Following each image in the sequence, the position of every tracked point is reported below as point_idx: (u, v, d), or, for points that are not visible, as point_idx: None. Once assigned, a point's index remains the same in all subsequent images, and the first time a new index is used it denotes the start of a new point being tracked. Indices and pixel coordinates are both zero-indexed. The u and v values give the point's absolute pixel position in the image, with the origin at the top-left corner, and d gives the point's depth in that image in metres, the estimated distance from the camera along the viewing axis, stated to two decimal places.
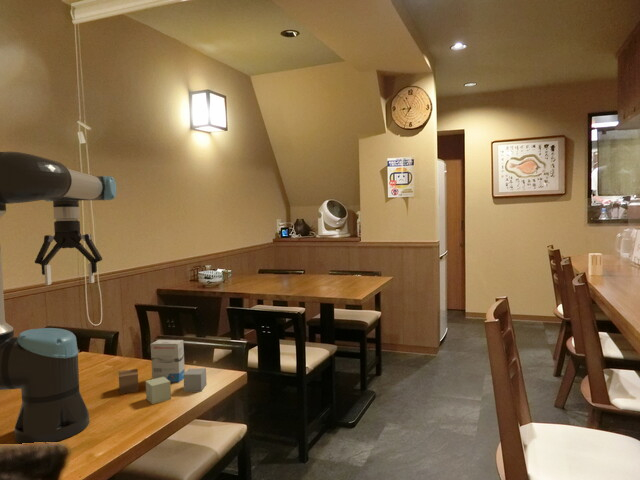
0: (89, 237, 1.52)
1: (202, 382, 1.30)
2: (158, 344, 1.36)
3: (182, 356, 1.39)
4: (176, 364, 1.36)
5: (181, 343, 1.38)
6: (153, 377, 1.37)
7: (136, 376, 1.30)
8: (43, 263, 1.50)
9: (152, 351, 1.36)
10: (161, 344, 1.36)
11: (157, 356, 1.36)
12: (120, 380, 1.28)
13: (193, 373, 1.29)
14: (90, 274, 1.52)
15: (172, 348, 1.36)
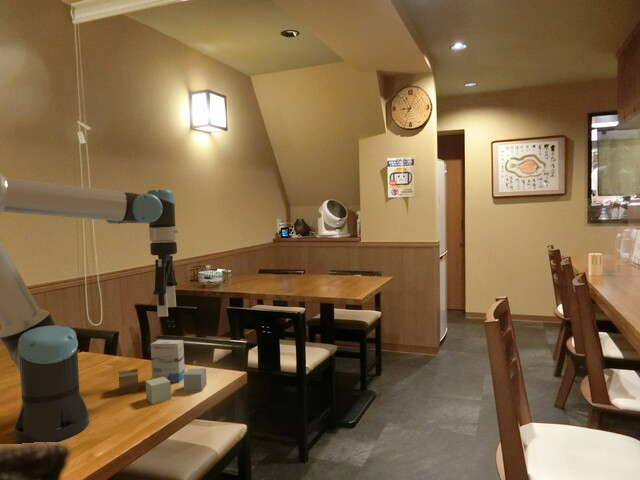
0: (158, 263, 1.30)
1: (202, 382, 1.30)
2: (158, 344, 1.36)
3: (182, 356, 1.39)
4: (176, 364, 1.36)
5: (181, 343, 1.38)
6: (153, 377, 1.37)
7: (136, 376, 1.30)
8: (166, 284, 1.45)
9: (152, 351, 1.36)
10: (161, 344, 1.36)
11: (157, 356, 1.36)
12: (120, 380, 1.28)
13: (193, 373, 1.29)
14: (157, 306, 1.31)
15: (172, 348, 1.36)
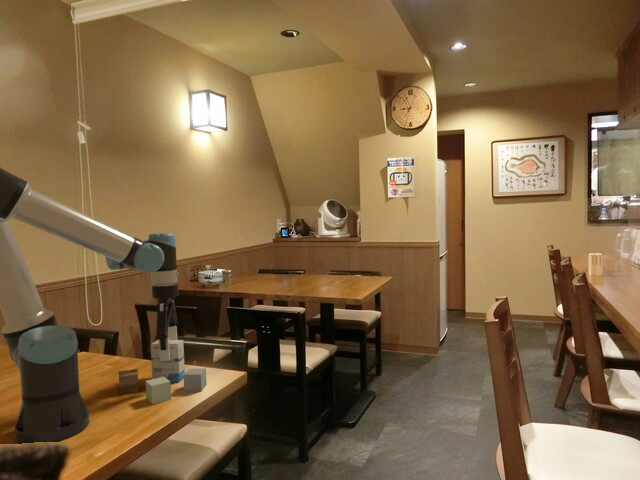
0: (160, 308, 1.31)
1: (202, 382, 1.30)
2: (158, 344, 1.36)
3: (182, 356, 1.39)
4: (176, 364, 1.36)
5: (181, 343, 1.38)
6: (153, 377, 1.37)
7: (136, 376, 1.30)
8: None
9: (152, 351, 1.36)
10: None
11: (157, 356, 1.36)
12: (120, 380, 1.28)
13: (193, 373, 1.29)
14: (159, 350, 1.31)
15: (172, 348, 1.36)
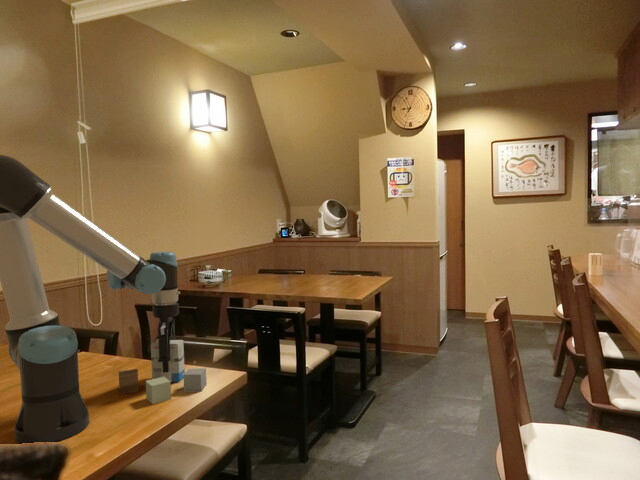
0: (161, 332, 1.32)
1: (202, 382, 1.30)
2: (158, 344, 1.36)
3: (182, 356, 1.39)
4: (176, 363, 1.36)
5: (181, 343, 1.38)
6: (153, 377, 1.37)
7: (136, 376, 1.30)
8: None
9: (152, 351, 1.36)
10: None
11: (157, 356, 1.36)
12: (120, 380, 1.28)
13: (193, 373, 1.29)
14: (161, 372, 1.35)
15: (172, 348, 1.36)
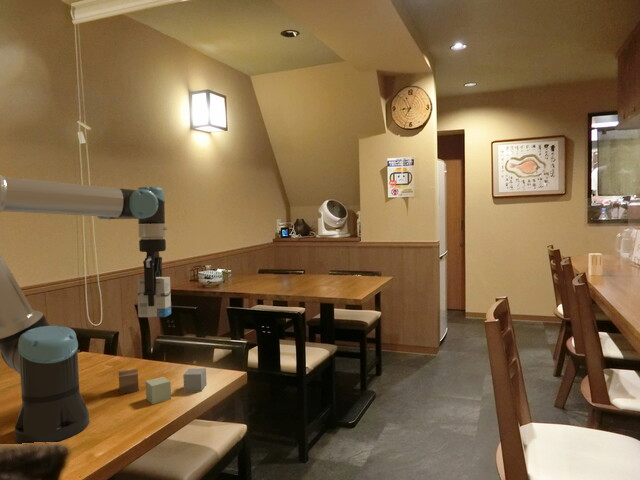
0: (146, 265, 1.32)
1: (202, 382, 1.30)
2: None
3: (168, 292, 1.39)
4: (162, 298, 1.36)
5: (168, 279, 1.38)
6: (139, 312, 1.37)
7: (136, 376, 1.30)
8: None
9: (138, 286, 1.36)
10: None
11: (143, 291, 1.36)
12: (120, 380, 1.28)
13: (193, 373, 1.29)
14: (147, 307, 1.35)
15: (158, 283, 1.36)
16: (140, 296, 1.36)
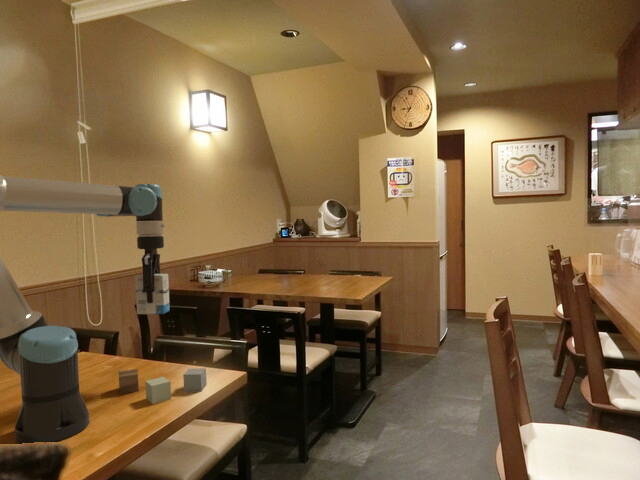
0: (145, 262, 1.32)
1: (202, 382, 1.30)
2: None
3: (167, 289, 1.39)
4: (160, 295, 1.36)
5: (166, 276, 1.39)
6: (138, 309, 1.37)
7: (136, 376, 1.30)
8: None
9: (137, 283, 1.37)
10: None
11: (141, 288, 1.36)
12: (120, 380, 1.28)
13: (193, 373, 1.29)
14: (146, 304, 1.35)
15: (156, 280, 1.36)
16: (138, 293, 1.37)
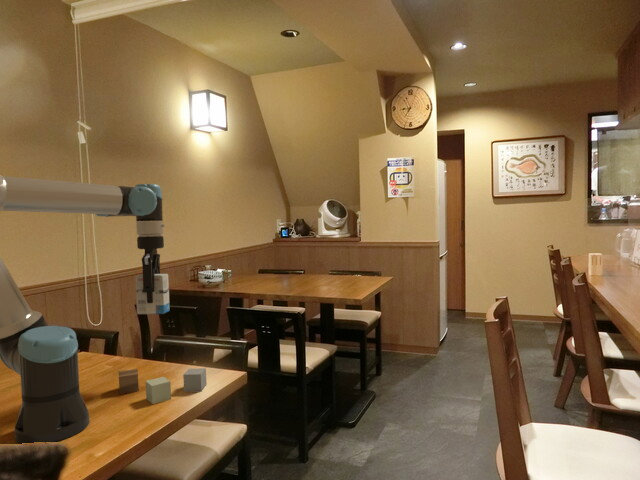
0: (145, 262, 1.32)
1: (202, 382, 1.30)
2: None
3: (167, 289, 1.39)
4: (160, 295, 1.36)
5: (166, 276, 1.39)
6: (138, 309, 1.37)
7: (136, 376, 1.30)
8: None
9: (137, 283, 1.37)
10: None
11: (141, 288, 1.36)
12: (120, 380, 1.28)
13: (193, 373, 1.29)
14: (146, 304, 1.35)
15: (156, 280, 1.36)
16: (138, 293, 1.37)
